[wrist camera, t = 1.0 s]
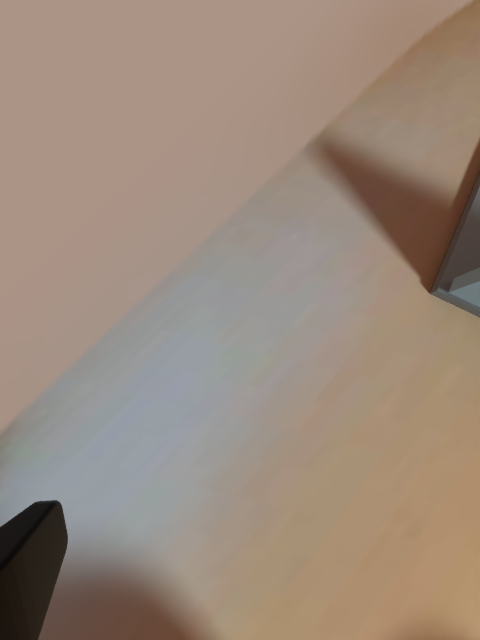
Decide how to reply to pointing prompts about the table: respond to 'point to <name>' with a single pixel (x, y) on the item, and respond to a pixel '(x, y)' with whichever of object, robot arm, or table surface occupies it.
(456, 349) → the table surface
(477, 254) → the grey box with dial
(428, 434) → the table surface
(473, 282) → the side door
